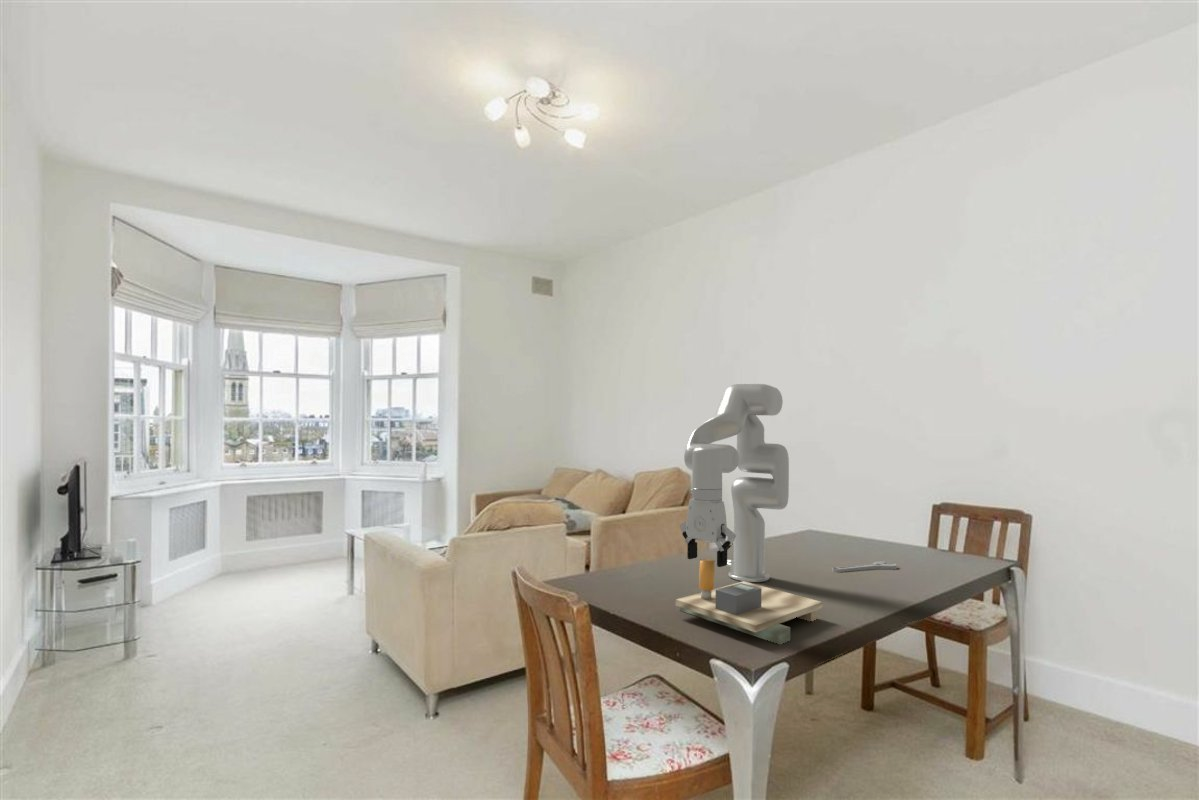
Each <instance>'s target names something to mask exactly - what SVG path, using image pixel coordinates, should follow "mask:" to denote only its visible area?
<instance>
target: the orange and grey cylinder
mask: <svg viewBox="0 0 1199 800" xmlns="http://www.w3.org/2000/svg"><path fill="white" fill-rule="evenodd" d="M715 561H716V560H714V559H711V558H700V559H699V567H698V568H699V570H698V573H699V574H698V588H699V589H700V593H701V598H702V599H705V600H710V599H711V593H712V590H714V589H715V566H716V565H715V563H716V562H715Z"/></svg>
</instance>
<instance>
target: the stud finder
mask: <svg viewBox="0 0 1199 800" xmlns="http://www.w3.org/2000/svg"><path fill="white" fill-rule="evenodd" d="M738 583H739V582H738ZM761 591H762V588H758V587H754V586H751V585H747V584H743V583H739V584H736V585H732V586H728V587H725V588H721V589H717V590H716V609H718V610H721V611H724V612H727V613H730V614H733V615H738V614H742V613H745V612H748V611H751V610H754V609H757V608H760V607H761Z"/></svg>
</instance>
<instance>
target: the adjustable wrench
mask: <svg viewBox="0 0 1199 800" xmlns="http://www.w3.org/2000/svg"><path fill="white" fill-rule="evenodd" d="M897 568H898V566H897V563H892V564H891V563H890V564H888V563H887V561H873V563H869V564H859V565H858V564H857V565H846V566H845V565H844V566H834V567H831V571H832V572H833V571H834V572H833V573H846V572H845V571H847V572H856V571H858V570H859V571H868V570H897Z"/></svg>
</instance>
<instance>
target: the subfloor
mask: <svg viewBox="0 0 1199 800" xmlns="http://www.w3.org/2000/svg"><path fill="white" fill-rule="evenodd" d="M739 583H743V584H747V585H751V586H754V587H758V588H762V591H761V607H760V608H757V609H754V610H751V611H748V612H745V613H742V614H738V615H733V614H730V613H727V612H724V611H721V610H718V609H716V590H717V589H721V588H725V587H728V586H732V585H736V584H739ZM675 607H679V611H681V612H683V613H687V614H688V615H691V616H695V617H698V618H701V619H704V620H707V621H708V622H709V621H710V622H712V623H715V624H718V625H721V626H725V627H727V628H730V629H732V630H735V631H739V632H741V633H744V634H748V635H751V636H752V637H757V638H759V639H762V640H765V641H767V640H768V642H770V641H771V642H770V643H773V642H774V644H776V643H777V645H779V644H780V646H781V645H783V643H784V644H786V643H788V642H787V641H789V642H790V641H791V627H790V626H787V625H784V624H782V623H785V622H788V621H791V620H794V619H795V618H796V617H797V618H796V619H800V620H803V619H804V620H803V621H806V620H807V622H810V621H812V622H814V620H815V621H817V620H818V617H819V616H818V612H819V611H818V610H821V609H823V601H820V600H816V599H814V598H813V599H812V598H810V597H809V598H808V597H805V596H801V595H796V594H794V593H790V592H786V591H784V590H783V591H782V590H779V589H775V588H770V587H766V586H763V585H760V584H756V583H753V582H745V581H739V582H736V583H732V584H729V585H728V584H727V585H724V586H720V587H717V588H714V590H712V593H711V599H710V600H705V599H702V598H701V592H699V593H698V592H697V593H694V594H692V595H691V594H690V595H687V596H683V597H679V598H676V599H675ZM816 619H817V620H816ZM785 642H786V643H785Z"/></svg>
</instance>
